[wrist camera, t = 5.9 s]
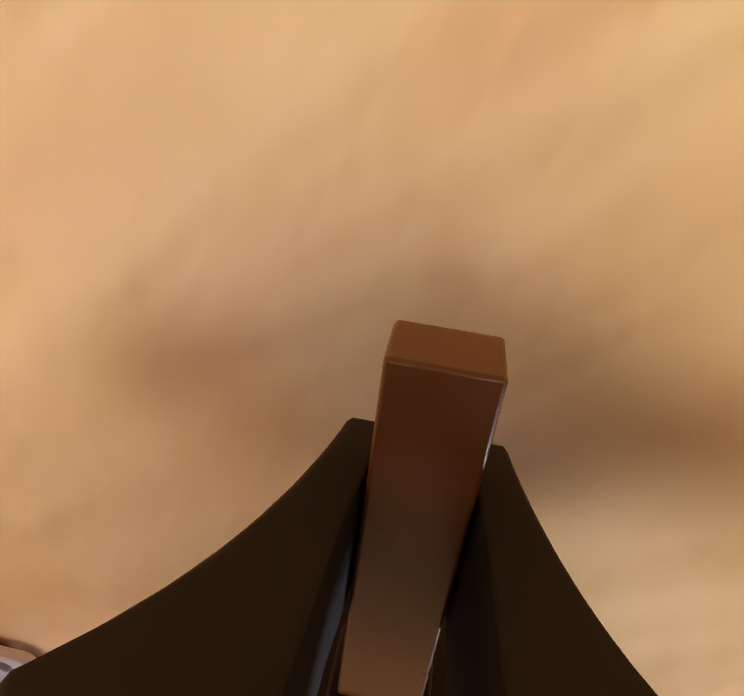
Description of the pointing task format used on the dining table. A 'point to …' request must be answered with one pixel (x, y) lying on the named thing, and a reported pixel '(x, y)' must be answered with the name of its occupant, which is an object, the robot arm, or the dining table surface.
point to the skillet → (416, 509)
